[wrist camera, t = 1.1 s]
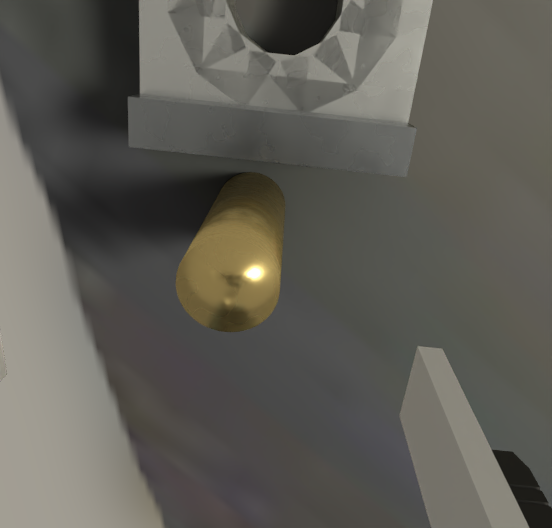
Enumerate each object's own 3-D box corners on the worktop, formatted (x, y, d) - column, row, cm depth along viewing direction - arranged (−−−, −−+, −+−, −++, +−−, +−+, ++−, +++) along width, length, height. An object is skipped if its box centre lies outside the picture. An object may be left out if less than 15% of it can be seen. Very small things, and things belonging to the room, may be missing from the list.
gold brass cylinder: (281, 241, 32) (274, 336, 21) (215, 234, 32) (174, 326, 21) (288, 176, 31) (285, 244, 20) (219, 168, 31) (176, 232, 20)
